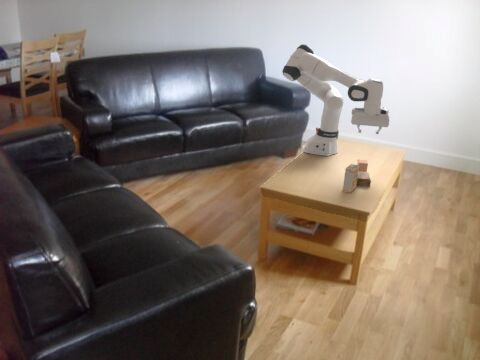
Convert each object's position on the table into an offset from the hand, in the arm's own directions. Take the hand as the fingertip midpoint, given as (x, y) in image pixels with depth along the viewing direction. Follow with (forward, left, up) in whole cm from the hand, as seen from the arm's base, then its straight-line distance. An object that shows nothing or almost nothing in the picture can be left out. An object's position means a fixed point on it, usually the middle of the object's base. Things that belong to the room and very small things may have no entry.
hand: (368, 133), depth 270 cm
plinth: (-4, -15, -23) cm, 28 cm away
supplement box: (-10, -27, -23) cm, 37 cm away
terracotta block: (-1, -2, -23) cm, 23 cm away
